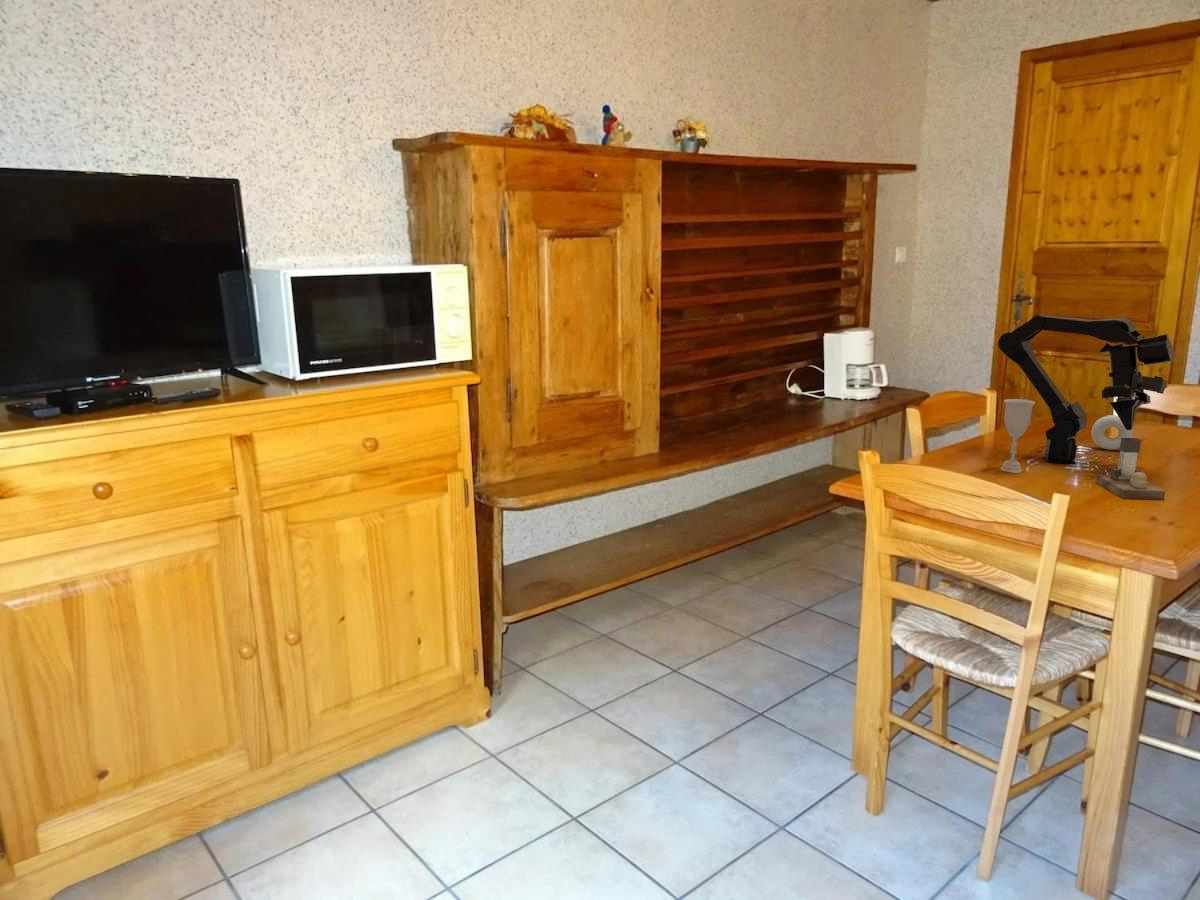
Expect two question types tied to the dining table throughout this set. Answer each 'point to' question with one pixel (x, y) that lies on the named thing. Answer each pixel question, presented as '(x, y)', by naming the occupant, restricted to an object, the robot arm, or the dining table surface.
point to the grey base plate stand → (1128, 487)
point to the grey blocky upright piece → (1128, 456)
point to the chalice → (1016, 427)
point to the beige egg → (1138, 480)
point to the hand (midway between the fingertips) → (1129, 430)
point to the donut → (1101, 427)
